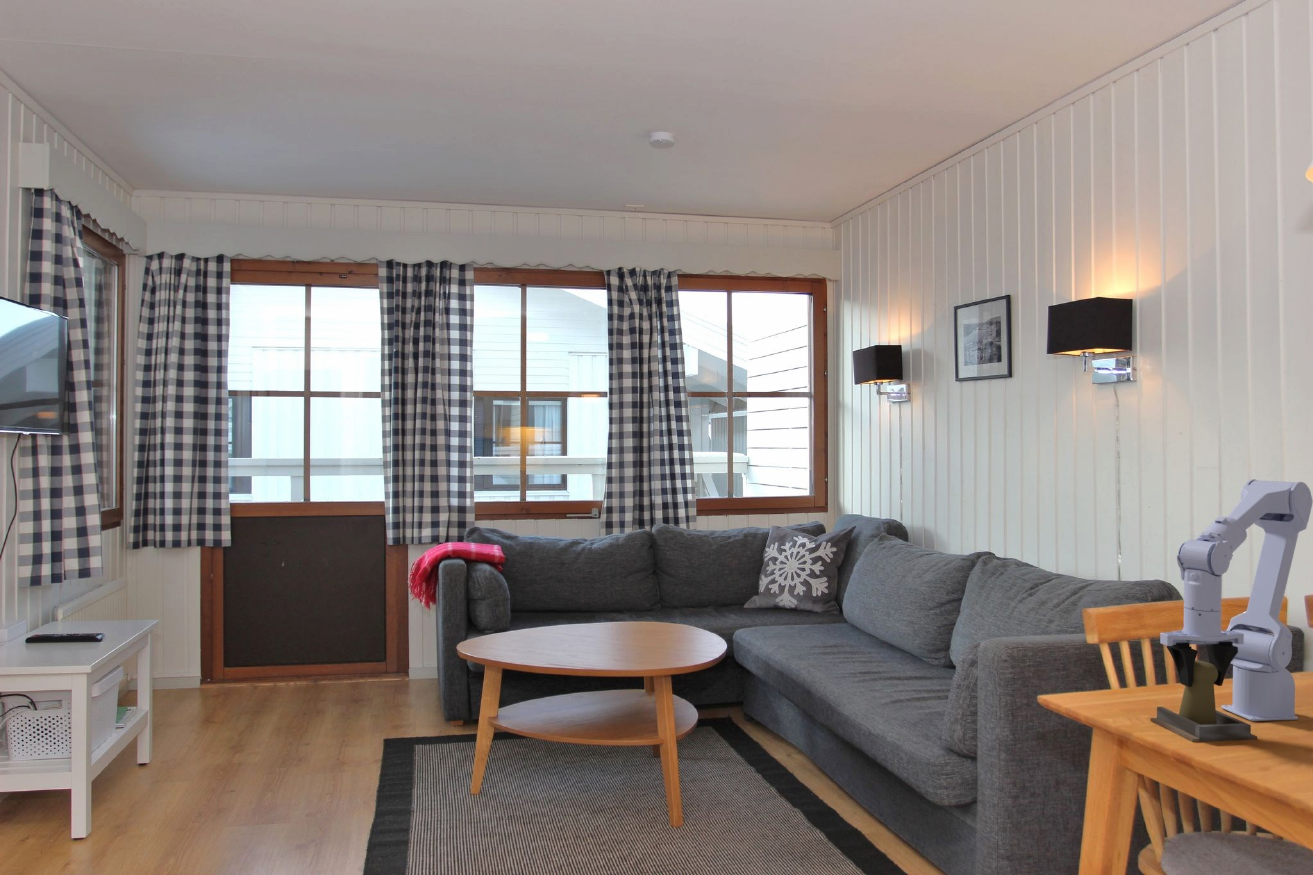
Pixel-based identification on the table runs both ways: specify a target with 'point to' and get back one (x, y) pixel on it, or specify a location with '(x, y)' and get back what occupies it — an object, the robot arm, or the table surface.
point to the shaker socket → (1204, 727)
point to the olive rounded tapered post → (1200, 695)
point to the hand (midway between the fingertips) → (1201, 684)
